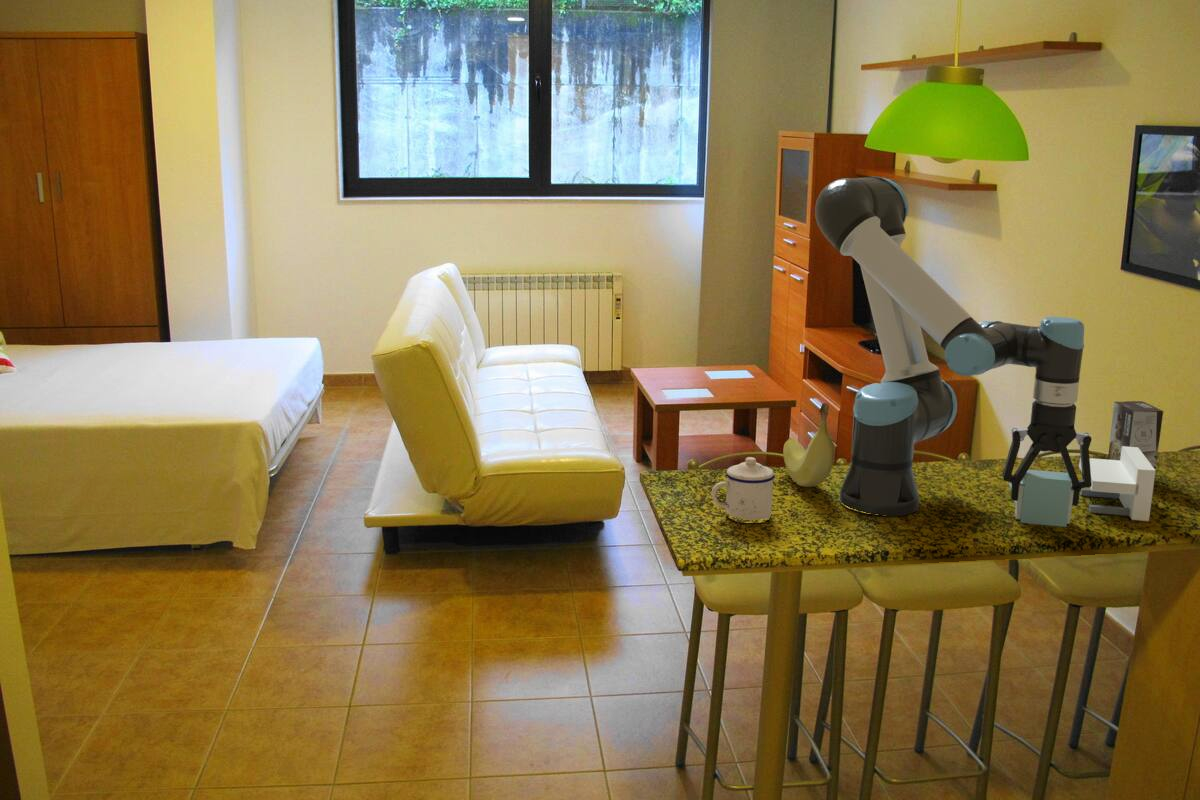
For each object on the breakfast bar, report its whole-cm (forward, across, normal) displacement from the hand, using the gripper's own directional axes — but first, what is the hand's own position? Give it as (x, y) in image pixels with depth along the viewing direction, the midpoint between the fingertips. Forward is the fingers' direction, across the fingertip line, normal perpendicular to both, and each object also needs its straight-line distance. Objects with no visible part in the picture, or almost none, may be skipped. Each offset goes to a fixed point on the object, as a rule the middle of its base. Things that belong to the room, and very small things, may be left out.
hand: (1042, 518), depth 206 cm
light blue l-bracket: (0, 0, +9) cm, 9 cm away
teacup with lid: (+1, -55, -14) cm, 57 cm away
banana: (+1, -45, +9) cm, 46 cm away
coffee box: (+1, +21, +32) cm, 38 cm away
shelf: (0, +14, +13) cm, 19 cm away
